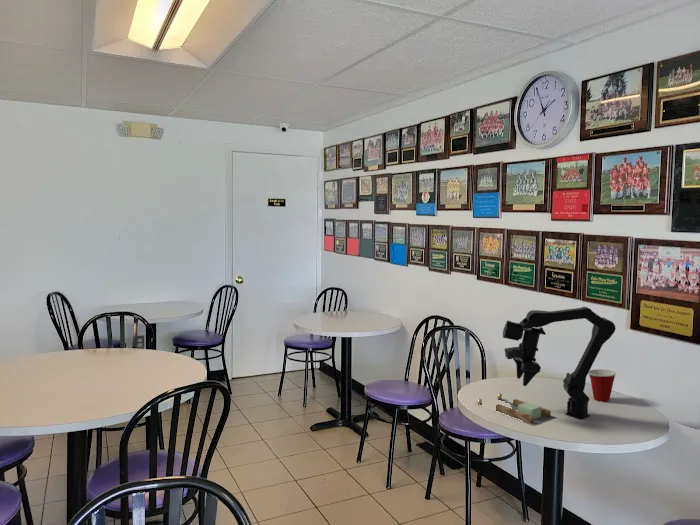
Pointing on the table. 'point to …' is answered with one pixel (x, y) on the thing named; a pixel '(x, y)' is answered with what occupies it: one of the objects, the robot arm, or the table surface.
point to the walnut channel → (519, 414)
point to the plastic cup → (602, 383)
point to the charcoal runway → (535, 421)
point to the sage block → (530, 409)
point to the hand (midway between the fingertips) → (521, 382)
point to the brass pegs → (498, 399)
